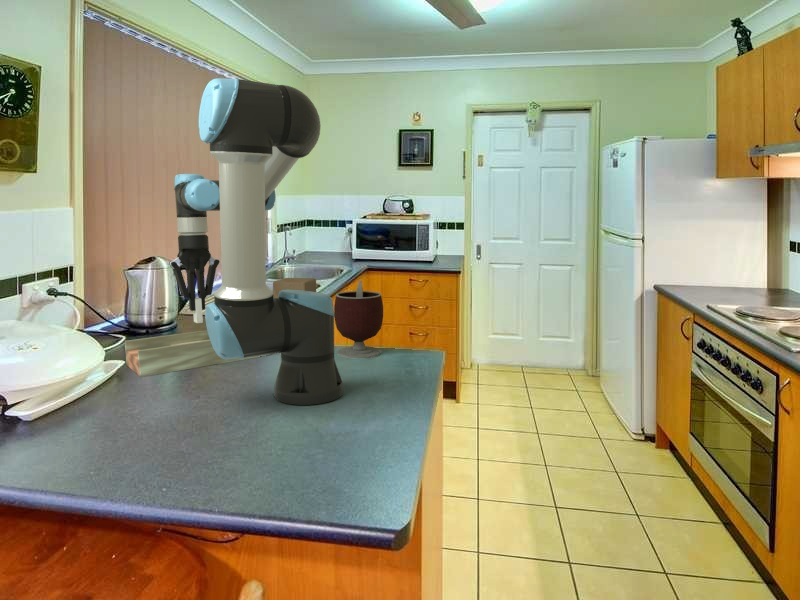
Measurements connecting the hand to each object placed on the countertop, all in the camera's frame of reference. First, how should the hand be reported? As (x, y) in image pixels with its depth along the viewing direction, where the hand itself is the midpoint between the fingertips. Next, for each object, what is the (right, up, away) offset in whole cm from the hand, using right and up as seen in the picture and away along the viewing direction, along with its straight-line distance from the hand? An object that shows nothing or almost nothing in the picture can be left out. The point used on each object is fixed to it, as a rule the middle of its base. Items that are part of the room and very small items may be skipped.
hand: (198, 322), depth 154 cm
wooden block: (+23, -8, +19) cm, 31 cm away
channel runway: (0, -10, +2) cm, 11 cm away
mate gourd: (+43, -9, +11) cm, 45 cm away
